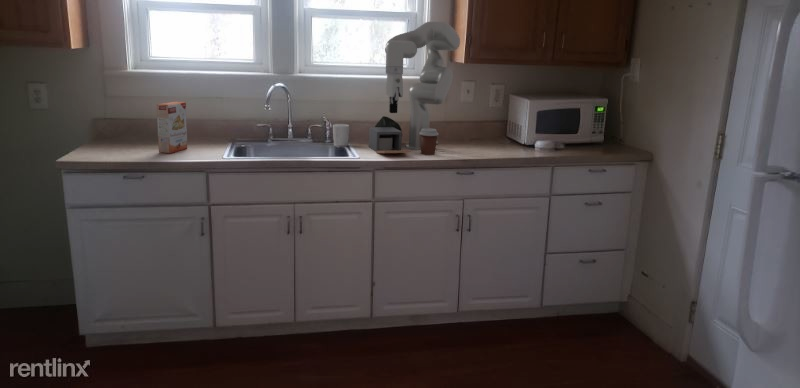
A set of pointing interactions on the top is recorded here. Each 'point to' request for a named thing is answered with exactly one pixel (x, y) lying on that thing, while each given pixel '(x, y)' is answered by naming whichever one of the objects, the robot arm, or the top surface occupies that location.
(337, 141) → the white cup
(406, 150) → the side door
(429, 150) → the coffee cup
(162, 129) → the cracker box
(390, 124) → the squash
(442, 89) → the robot arm
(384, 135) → the case
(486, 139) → the top surface
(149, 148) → the top surface
